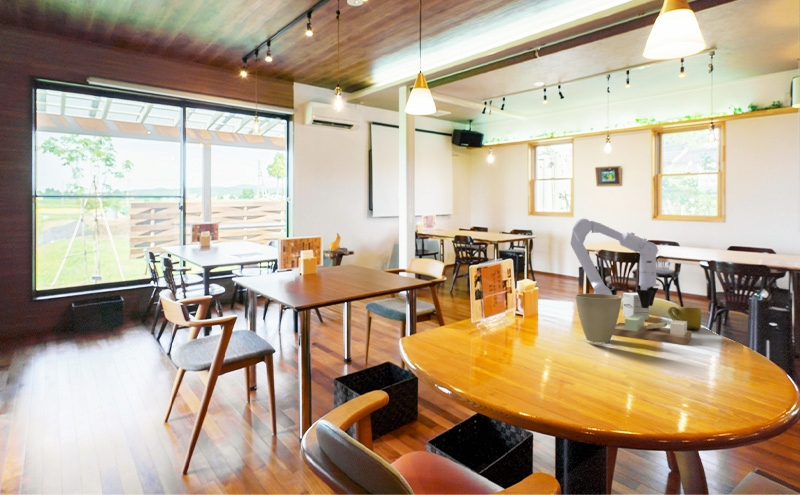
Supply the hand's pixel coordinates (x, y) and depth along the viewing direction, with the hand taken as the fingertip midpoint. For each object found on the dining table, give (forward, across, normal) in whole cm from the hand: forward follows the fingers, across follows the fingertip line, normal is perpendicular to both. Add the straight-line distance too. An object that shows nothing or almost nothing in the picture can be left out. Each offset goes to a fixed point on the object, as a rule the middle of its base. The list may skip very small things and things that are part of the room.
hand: (647, 306), depth 169 cm
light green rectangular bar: (+7, -11, +2) cm, 13 cm away
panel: (+9, -10, -3) cm, 14 cm away
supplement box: (+10, +15, +7) cm, 19 cm away
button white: (+7, -11, -12) cm, 18 cm away
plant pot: (+10, -30, +10) cm, 33 cm away
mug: (+10, +9, -11) cm, 17 cm away
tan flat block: (+5, -10, -5) cm, 12 cm away
